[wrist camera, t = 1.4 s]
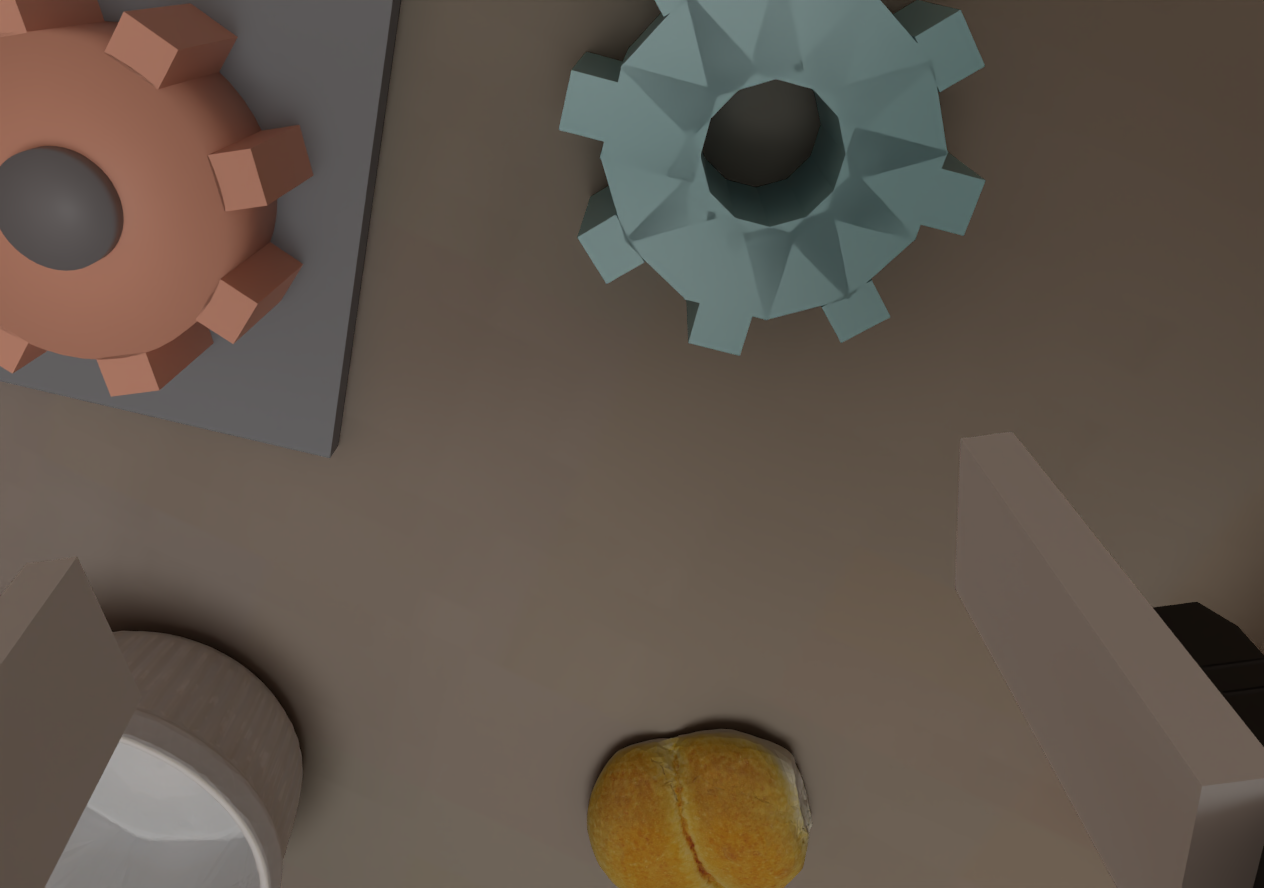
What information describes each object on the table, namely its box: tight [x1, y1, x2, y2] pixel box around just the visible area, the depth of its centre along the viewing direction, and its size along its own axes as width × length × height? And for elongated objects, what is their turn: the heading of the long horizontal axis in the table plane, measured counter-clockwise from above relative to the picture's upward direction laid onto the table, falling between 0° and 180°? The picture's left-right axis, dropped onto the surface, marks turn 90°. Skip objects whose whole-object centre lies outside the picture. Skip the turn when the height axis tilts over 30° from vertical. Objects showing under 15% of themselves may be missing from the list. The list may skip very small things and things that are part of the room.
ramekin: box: [45, 630, 303, 888], centre depth 40 cm, size 13×13×7 cm
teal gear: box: [559, 0, 986, 356], centre depth 29 cm, size 11×11×5 cm
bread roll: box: [587, 729, 812, 888], centre depth 42 cm, size 8×9×4 cm
